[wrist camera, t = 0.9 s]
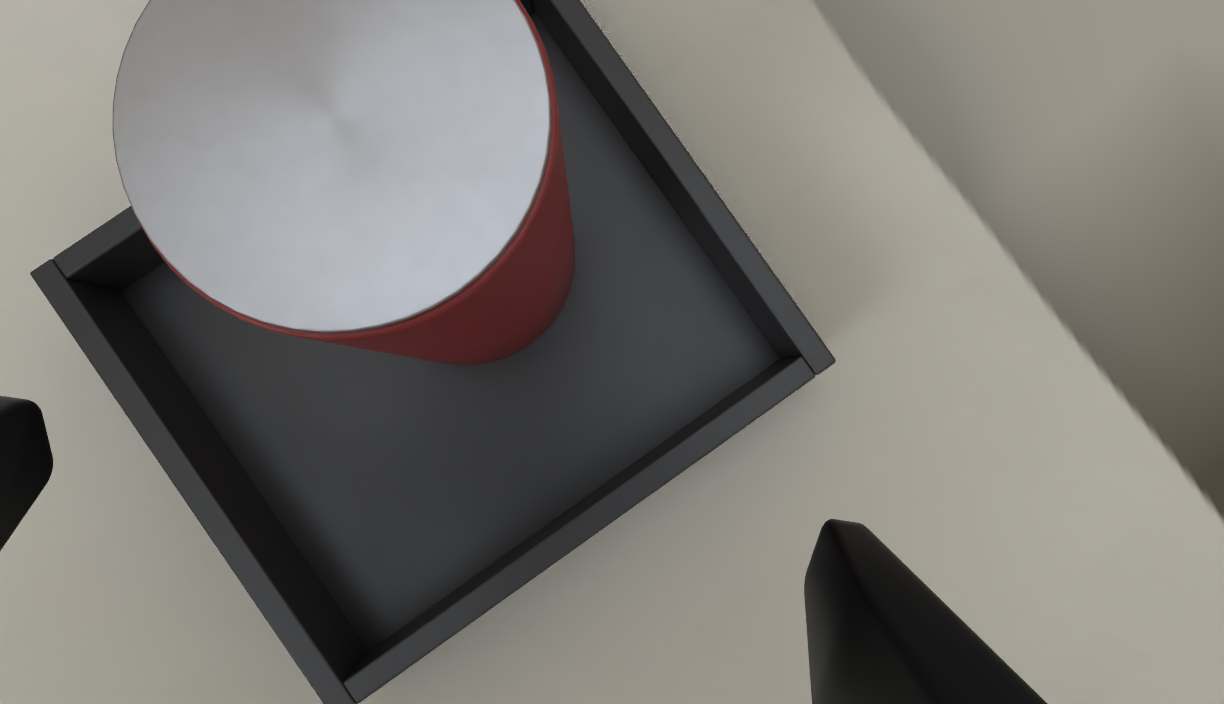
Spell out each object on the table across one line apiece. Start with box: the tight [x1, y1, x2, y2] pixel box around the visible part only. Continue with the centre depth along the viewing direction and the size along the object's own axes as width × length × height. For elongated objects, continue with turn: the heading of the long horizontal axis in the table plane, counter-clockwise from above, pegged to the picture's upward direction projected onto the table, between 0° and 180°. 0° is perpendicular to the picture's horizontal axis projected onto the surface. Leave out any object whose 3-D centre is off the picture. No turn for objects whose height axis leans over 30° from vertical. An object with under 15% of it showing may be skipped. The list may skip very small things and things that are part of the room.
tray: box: [30, 0, 835, 704], centre depth 23 cm, size 16×14×3 cm
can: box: [113, 0, 575, 365], centre depth 18 cm, size 7×7×12 cm
